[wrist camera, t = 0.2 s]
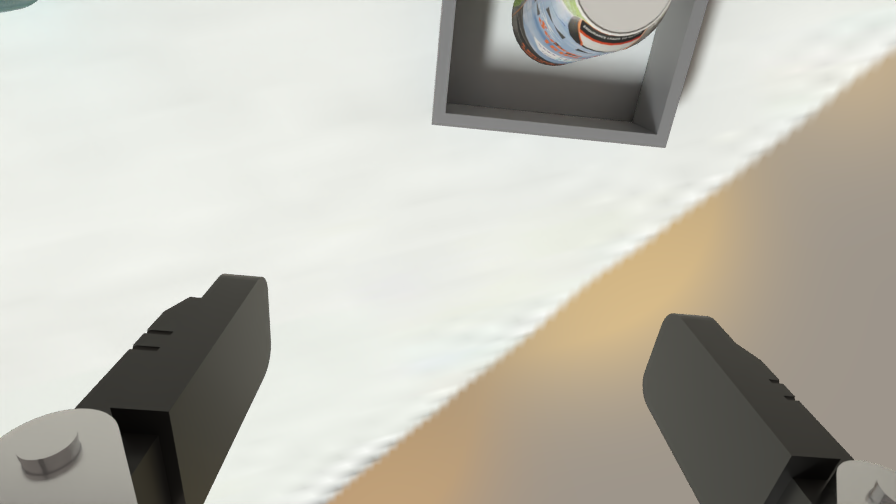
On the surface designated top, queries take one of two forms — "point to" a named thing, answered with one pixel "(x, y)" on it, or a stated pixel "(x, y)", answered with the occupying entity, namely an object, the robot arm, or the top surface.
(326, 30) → the top surface
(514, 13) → the beverage can
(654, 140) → the bin
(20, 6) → the flower pot
